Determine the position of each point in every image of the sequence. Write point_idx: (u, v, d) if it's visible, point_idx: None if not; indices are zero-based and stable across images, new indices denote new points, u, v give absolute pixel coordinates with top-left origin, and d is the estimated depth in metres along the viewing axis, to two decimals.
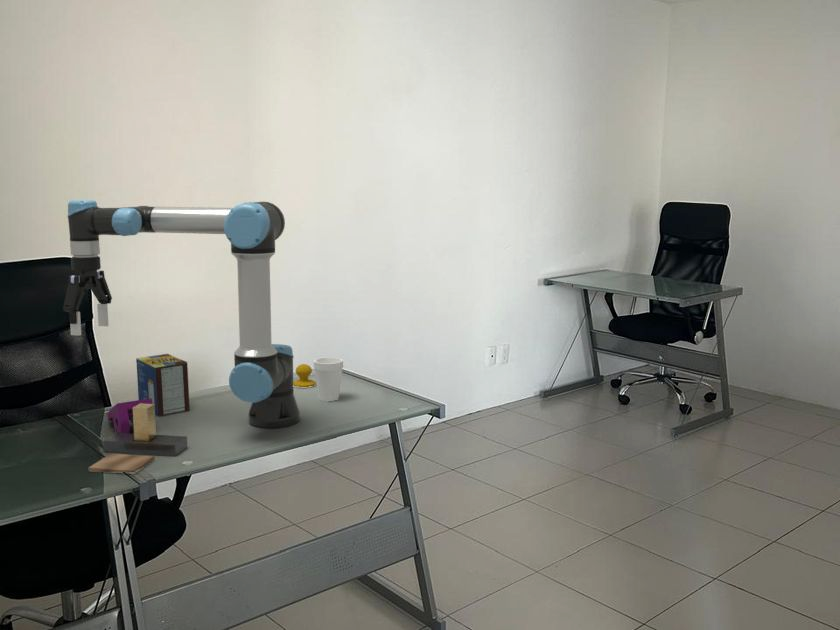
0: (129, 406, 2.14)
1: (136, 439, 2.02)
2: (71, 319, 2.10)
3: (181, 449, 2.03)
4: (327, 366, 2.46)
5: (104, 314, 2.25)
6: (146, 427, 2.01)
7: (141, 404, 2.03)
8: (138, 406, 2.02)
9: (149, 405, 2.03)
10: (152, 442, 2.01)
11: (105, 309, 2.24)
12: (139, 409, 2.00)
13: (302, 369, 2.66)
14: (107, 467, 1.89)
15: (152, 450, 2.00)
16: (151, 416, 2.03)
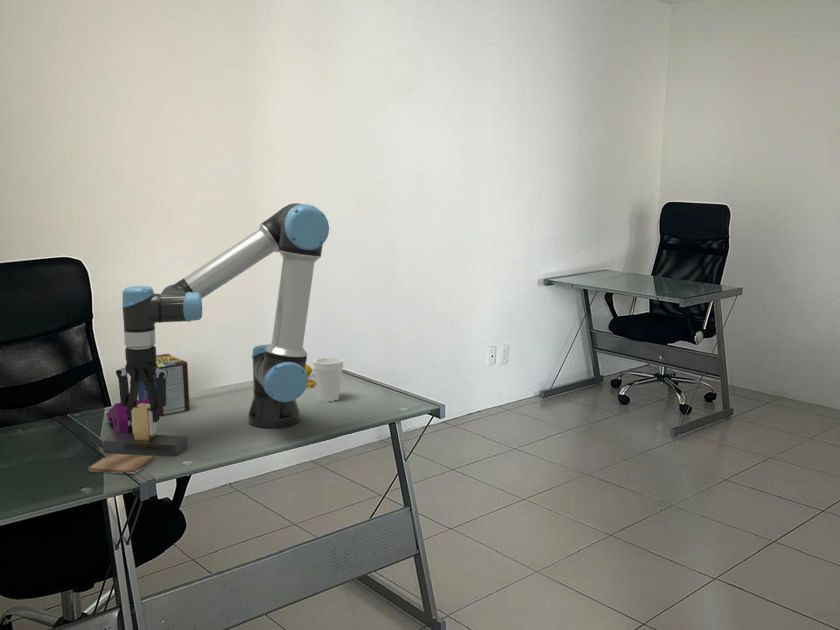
0: None
1: (136, 439, 2.02)
2: None
3: (181, 449, 2.03)
4: (327, 366, 2.46)
5: None
6: (146, 427, 2.01)
7: (141, 404, 2.03)
8: (138, 406, 2.02)
9: (149, 405, 2.03)
10: (152, 442, 2.01)
11: (149, 416, 2.01)
12: (139, 409, 2.00)
13: None
14: (107, 467, 1.89)
15: (152, 450, 2.00)
16: None
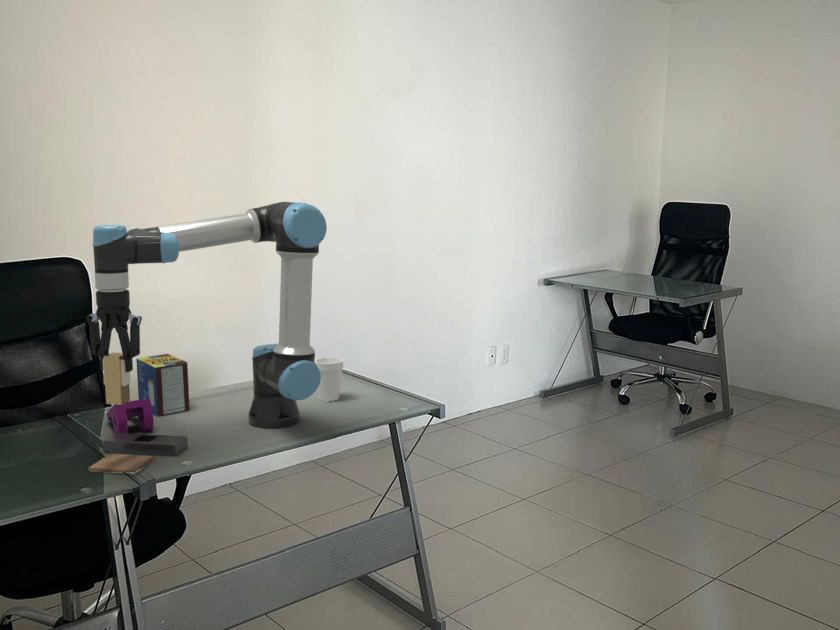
0: (127, 406, 2.14)
1: (107, 390, 1.88)
2: None
3: (181, 449, 2.03)
4: (327, 366, 2.46)
5: None
6: (118, 377, 1.87)
7: (113, 353, 1.89)
8: (110, 354, 1.88)
9: (122, 354, 1.89)
10: (152, 442, 2.01)
11: None
12: (111, 358, 1.86)
13: None
14: (107, 467, 1.89)
15: (152, 450, 2.00)
16: None
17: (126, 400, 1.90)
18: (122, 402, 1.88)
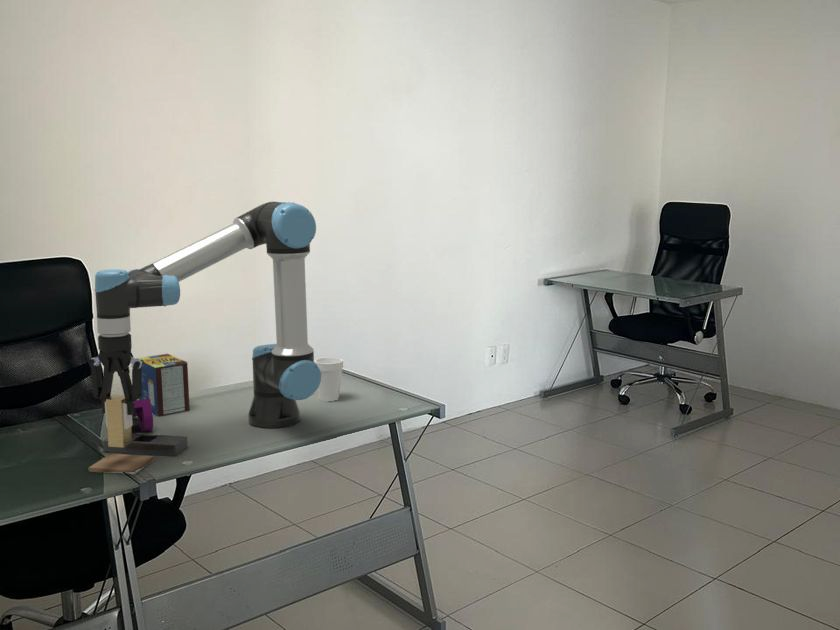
0: None
1: (109, 433, 1.89)
2: None
3: (181, 449, 2.03)
4: (327, 366, 2.46)
5: None
6: (120, 420, 1.88)
7: (115, 396, 1.91)
8: (112, 398, 1.89)
9: (124, 397, 1.90)
10: (152, 442, 2.01)
11: None
12: (113, 401, 1.88)
13: None
14: (107, 467, 1.89)
15: (152, 450, 2.00)
16: None
17: (128, 442, 1.92)
18: (124, 445, 1.90)
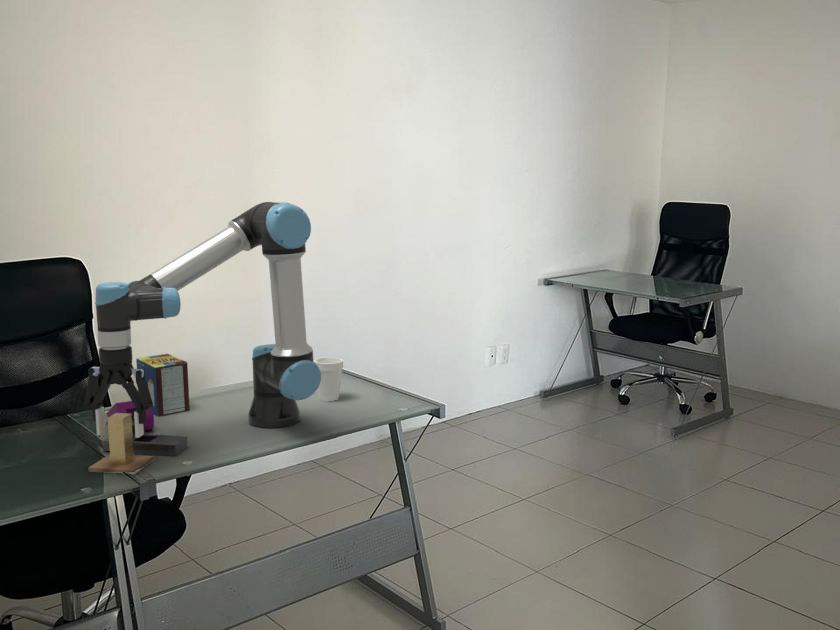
0: (127, 406, 2.15)
1: (111, 451, 1.90)
2: None
3: (181, 449, 2.03)
4: (327, 366, 2.46)
5: None
6: (122, 438, 1.89)
7: (117, 414, 1.92)
8: (114, 416, 1.90)
9: (125, 415, 1.91)
10: (152, 442, 2.01)
11: None
12: (115, 420, 1.88)
13: None
14: (107, 467, 1.89)
15: (152, 450, 2.00)
16: (128, 426, 1.91)
17: (130, 460, 1.92)
18: (126, 462, 1.91)
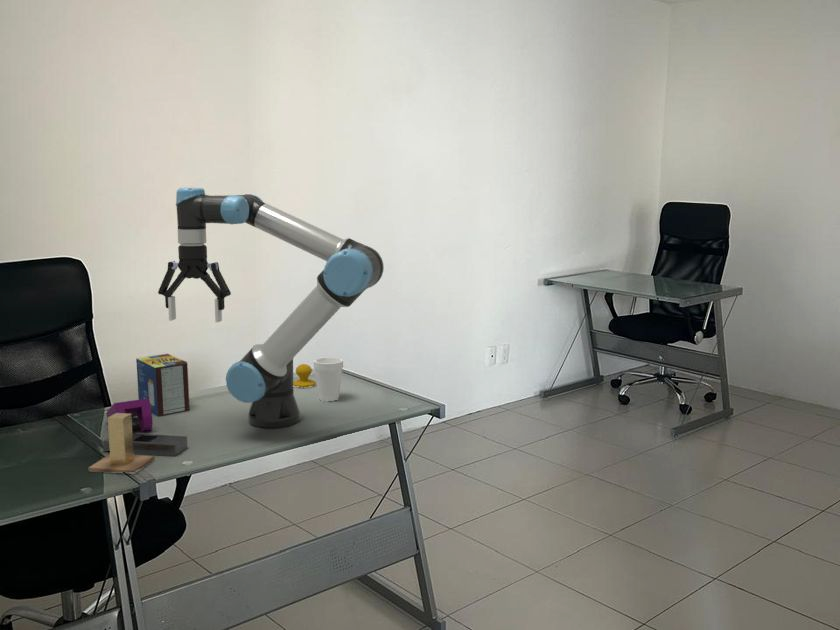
0: (126, 406, 2.15)
1: (111, 451, 1.90)
2: None
3: (181, 449, 2.03)
4: (327, 366, 2.46)
5: None
6: (122, 438, 1.89)
7: (117, 414, 1.92)
8: (114, 416, 1.90)
9: (125, 415, 1.91)
10: (152, 442, 2.01)
11: (215, 304, 2.12)
12: (115, 420, 1.88)
13: (302, 369, 2.66)
14: (107, 467, 1.89)
15: (152, 450, 2.00)
16: (128, 426, 1.91)
17: (130, 460, 1.92)
18: (126, 462, 1.91)
